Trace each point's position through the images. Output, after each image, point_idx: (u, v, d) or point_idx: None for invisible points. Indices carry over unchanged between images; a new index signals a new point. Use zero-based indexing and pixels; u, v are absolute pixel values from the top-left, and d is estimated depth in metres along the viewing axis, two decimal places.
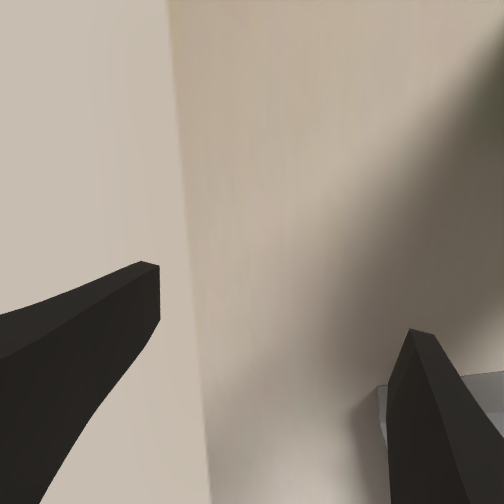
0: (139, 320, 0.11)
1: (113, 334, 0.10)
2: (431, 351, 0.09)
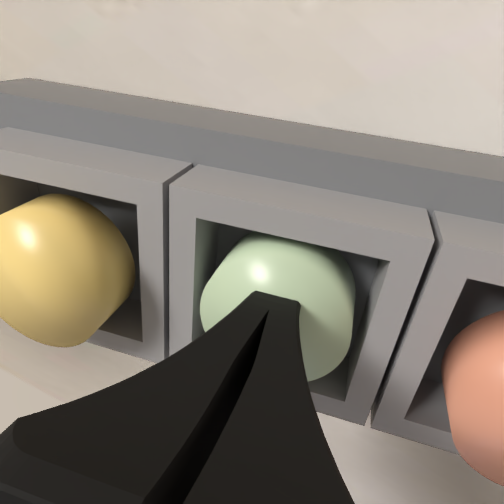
0: None
1: (246, 373, 0.09)
2: (283, 312, 0.10)
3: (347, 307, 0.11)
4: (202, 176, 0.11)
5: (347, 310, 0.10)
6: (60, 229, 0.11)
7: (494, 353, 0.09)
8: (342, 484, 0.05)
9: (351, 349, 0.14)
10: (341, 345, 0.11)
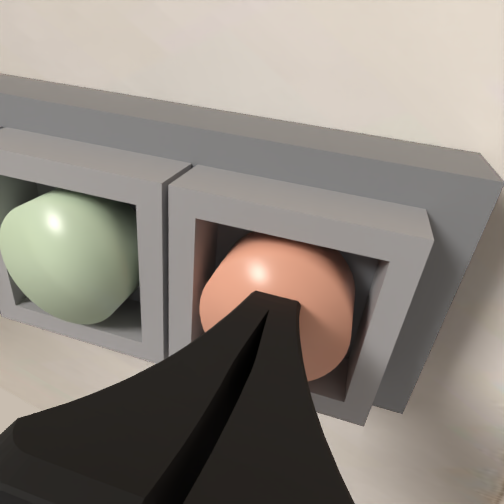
0: None
1: (246, 373, 0.09)
2: (283, 312, 0.10)
3: (111, 248, 0.12)
4: None
5: (110, 250, 0.12)
6: None
7: (224, 260, 0.11)
8: (342, 484, 0.05)
9: None
10: (114, 284, 0.12)
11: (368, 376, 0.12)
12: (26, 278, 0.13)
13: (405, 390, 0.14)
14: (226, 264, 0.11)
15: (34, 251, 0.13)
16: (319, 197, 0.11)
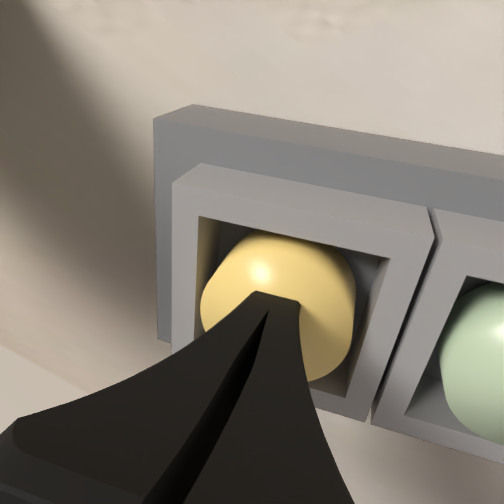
0: None
1: (246, 373, 0.09)
2: (283, 312, 0.10)
3: None
4: (460, 226, 0.10)
5: None
6: (320, 268, 0.10)
7: None
8: (342, 484, 0.05)
9: None
10: None
11: None
12: (470, 397, 0.11)
13: None
14: None
15: None
16: None
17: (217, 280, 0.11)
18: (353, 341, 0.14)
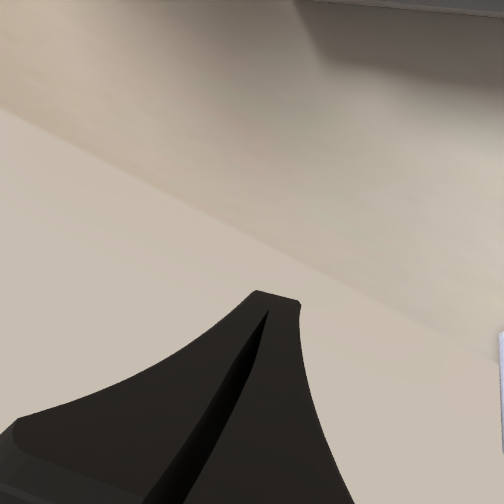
0: None
1: (246, 373, 0.09)
2: (283, 312, 0.10)
3: None
4: None
5: None
6: None
7: None
8: (342, 484, 0.05)
9: None
10: None
11: None
12: None
13: None
14: None
15: None
16: None
17: None
18: None
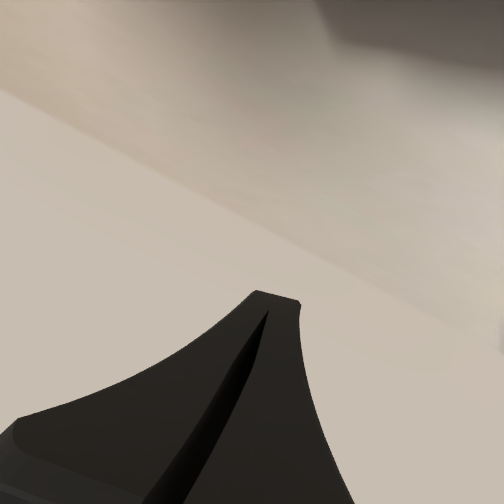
0: None
1: (246, 373, 0.09)
2: (283, 312, 0.10)
3: None
4: None
5: None
6: None
7: None
8: (342, 484, 0.05)
9: None
10: None
11: None
12: None
13: None
14: None
15: None
16: None
17: None
18: None
